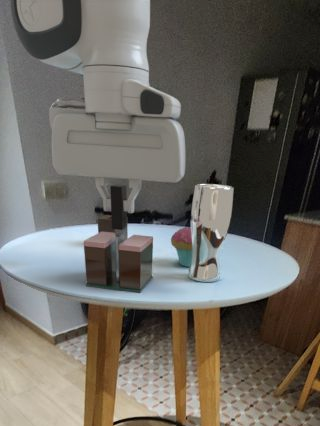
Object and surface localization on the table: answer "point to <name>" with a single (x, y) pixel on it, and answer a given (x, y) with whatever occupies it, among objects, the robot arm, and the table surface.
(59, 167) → the robot arm
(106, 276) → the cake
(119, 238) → the knife
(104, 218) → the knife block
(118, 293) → the table surface
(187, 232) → the cupcake
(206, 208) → the beer glass
